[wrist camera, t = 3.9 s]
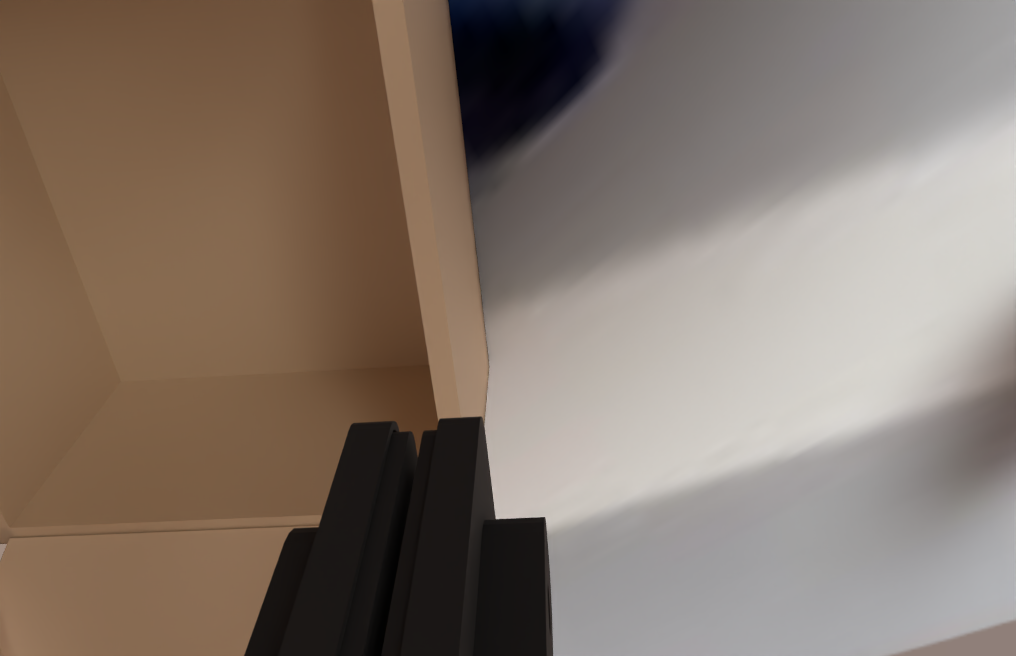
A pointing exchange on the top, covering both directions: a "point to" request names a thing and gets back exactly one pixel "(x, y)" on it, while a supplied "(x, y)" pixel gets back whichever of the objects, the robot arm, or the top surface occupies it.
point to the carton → (213, 296)
